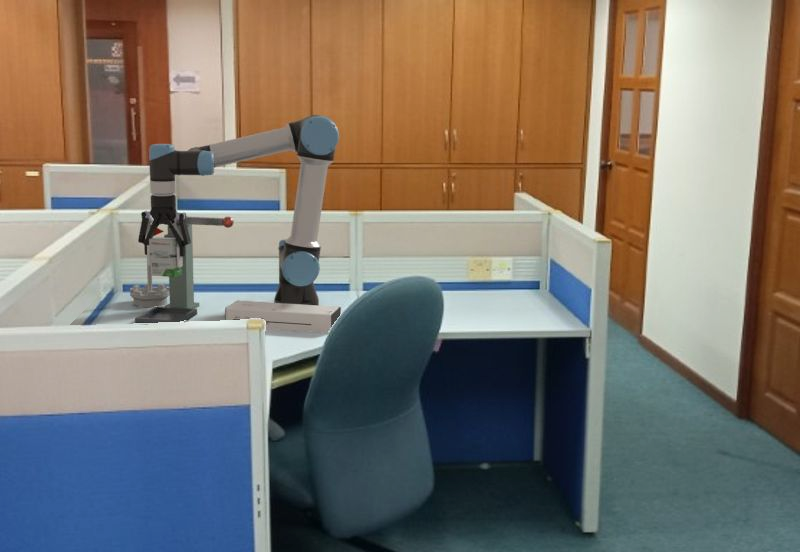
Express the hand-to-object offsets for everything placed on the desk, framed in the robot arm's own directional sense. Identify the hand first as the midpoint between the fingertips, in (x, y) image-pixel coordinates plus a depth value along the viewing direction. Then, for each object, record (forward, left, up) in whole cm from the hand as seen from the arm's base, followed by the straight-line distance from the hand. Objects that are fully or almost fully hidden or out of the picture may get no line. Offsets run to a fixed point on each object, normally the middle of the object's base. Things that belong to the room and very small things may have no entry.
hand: (165, 265), depth 290 cm
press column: (+1, -14, -17) cm, 22 cm away
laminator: (-38, -2, -18) cm, 42 cm away
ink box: (0, 0, -3) cm, 3 cm away
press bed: (0, 0, -17) cm, 17 cm away
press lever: (-7, -15, +11) cm, 20 cm away
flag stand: (+14, -19, -17) cm, 29 cm away
